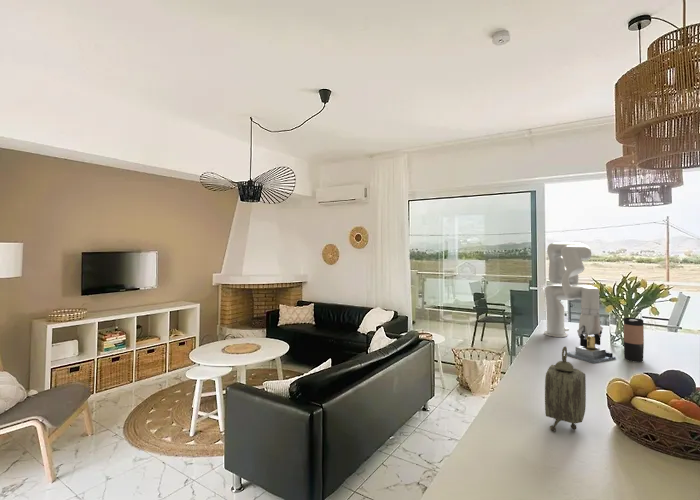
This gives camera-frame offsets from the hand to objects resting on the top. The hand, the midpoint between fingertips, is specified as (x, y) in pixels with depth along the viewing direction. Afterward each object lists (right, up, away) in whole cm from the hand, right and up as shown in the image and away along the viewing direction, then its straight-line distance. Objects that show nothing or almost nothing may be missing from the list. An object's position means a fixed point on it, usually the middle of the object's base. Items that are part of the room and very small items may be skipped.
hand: (590, 345), depth 176 cm
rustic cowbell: (-54, -7, -67) cm, 87 cm away
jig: (0, -6, 0) cm, 6 cm away
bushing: (0, -5, 0) cm, 5 cm away
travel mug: (+18, -6, -5) cm, 20 cm away
